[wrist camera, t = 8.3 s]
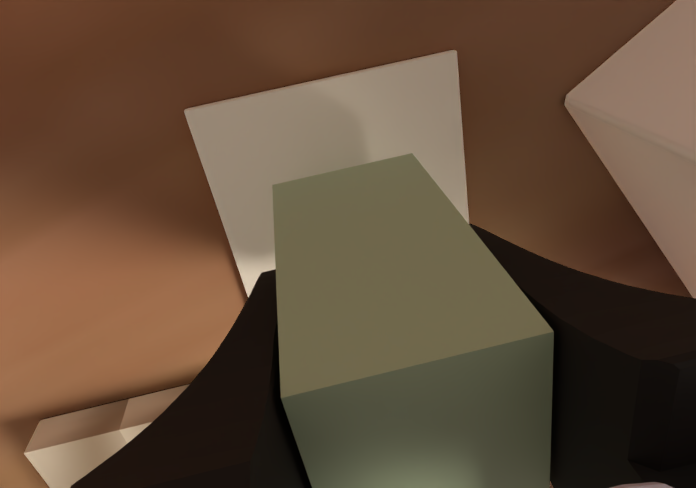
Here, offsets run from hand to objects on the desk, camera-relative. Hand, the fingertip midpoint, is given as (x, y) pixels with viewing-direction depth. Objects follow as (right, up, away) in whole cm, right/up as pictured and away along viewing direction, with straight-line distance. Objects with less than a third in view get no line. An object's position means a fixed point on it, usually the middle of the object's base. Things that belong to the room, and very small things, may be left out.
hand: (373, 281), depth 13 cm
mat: (-1, +2, +4) cm, 5 cm away
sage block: (0, +1, +3) cm, 3 cm away
